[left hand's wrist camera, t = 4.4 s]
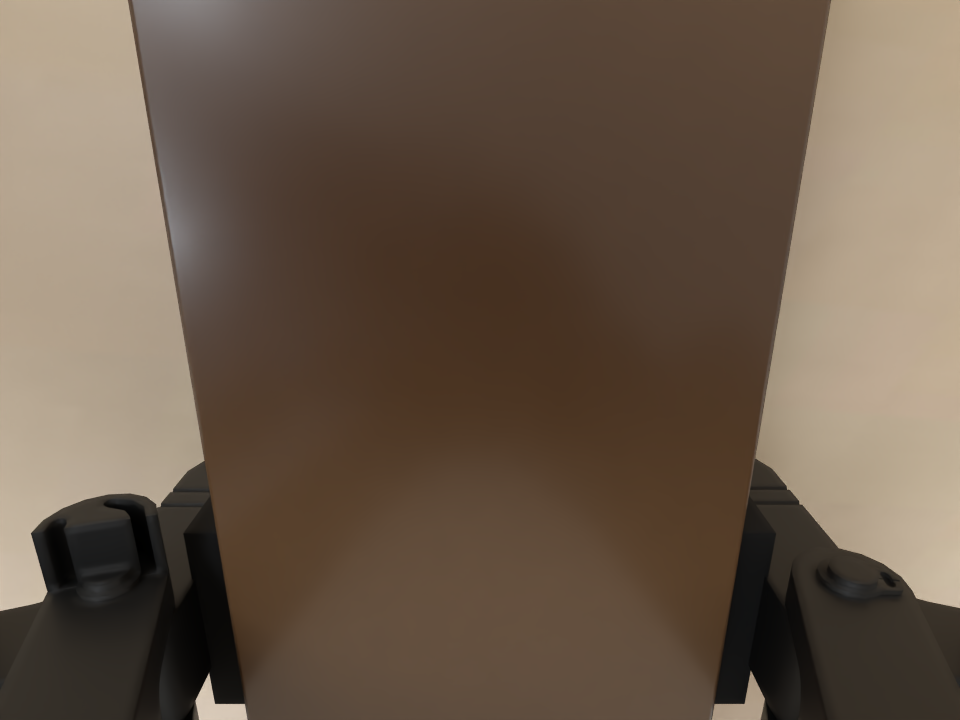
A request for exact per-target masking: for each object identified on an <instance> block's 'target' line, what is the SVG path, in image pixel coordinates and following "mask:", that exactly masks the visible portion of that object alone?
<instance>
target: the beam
mask: <svg viewBox="0 0 960 720" xmlns="http://www.w3.org/2000/svg"><path fill="white" fill-rule="evenodd" d="M128 3H129V9H130V15H131V21H132V27H133V33H134V39H135V45H136V51H137V57H138V63H139V69H140V75H141V81H142V87H143V93H144V99H145V105H146V111H147V117H148V123H149V129H150V135H151V141H152V147H153V153H154V159H155V165H156V171H157V177H158V183H159V189H160V195H161V201H162V207H163V213H164V219H165V225H166V231H167V237H168V243H169V249H170V255H171V261H172V267H173V273H174V279H175V285H176V291H177V297H178V303H179V309H180V315H181V321H182V328H183V334H184V340H185V346H186V352H187V358H188V364H189V370H190V376H191V382H192V388H193V394H194V400H195V406H196V412H197V418H198V424H199V430H200V436H201V442H202V448H203V454H204V460H205V466H206V472H207V478H208V484H209V490H210V496H211V502H212V508H213V514H214V520H215V526H216V532H217V538H218V544H219V550H220V556H221V562H222V568H223V574H224V580H225V586H226V592H227V598H228V604H229V610H230V616H231V622H232V628H233V634H234V640H235V646H236V652H237V658H238V664H239V670H240V676H241V682H242V689H243V695H244V701H245V707H246V713H247V719H248V720H712V715H713V709H714V703H715V697H716V691H717V685H718V679H719V673H720V667H721V661H722V655H723V649H724V643H725V636H726V630H727V624H728V618H729V612H730V606H731V600H732V594H733V588H734V582H735V576H736V570H737V564H738V558H739V552H740V546H741V540H742V534H743V528H744V522H745V516H746V510H747V504H748V498H749V492H750V486H751V480H752V474H753V468H754V461H755V455H756V449H757V443H758V437H759V431H760V425H761V419H762V413H763V407H764V401H765V395H766V389H767V383H768V377H769V371H770V365H771V359H772V353H773V347H774V341H775V335H776V329H777V323H778V317H779V311H780V305H781V299H782V293H783V287H784V280H785V274H786V268H787V262H788V256H789V250H790V244H791V238H792V232H793V226H794V220H795V214H796V208H797V202H798V196H799V190H800V184H801V178H802V172H803V166H804V160H805V154H806V148H807V142H808V136H809V130H810V124H811V118H812V112H813V106H814V99H815V93H816V87H817V81H818V75H819V69H820V63H821V57H822V51H823V45H824V39H825V33H826V27H827V21H828V15H829V9H830V3H831V0H128Z"/></svg>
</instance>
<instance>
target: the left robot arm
mask: <svg viewBox="0 0 960 720" xmlns="http://www.w3.org/2000/svg"><path fill="white" fill-rule="evenodd" d="M31 535H32V538H33V542H34V545H35V549H36V553H37V556H38V560H39V563H40V567H41V570H42V574H43V577H44V581H45V584H46V588H47V591H48V592H47V594H46V596H45V599H44V601H43V602H40V603H36V604H32V605H28V606H23V607H18V608H13V609H9V610H4V611H0V720H199V717H198V712H197V707H196V702H195V700H196V698H197V696H198V694H199V692H200V690H201V688H202V686H203V684H204V682H205V680H206V678H207V676H208V674H210V679H211V684H212V690H213V695H214V700H215V704H245V701H244V695H243V689H242V682H241V676H240V670H239V664H238V658H237V652H236V646H235V640H234V634H233V628H232V622H231V616H230V610H229V604H228V598H227V592H226V586H225V580H224V574H223V568H222V562H221V556H220V550H219V544H218V538H217V532H216V526H215V520H214V514H213V508H212V502H211V496H210V490H209V484H208V478H207V472H206V466H205V461H204V462H202V463H200V464H199V465H197V466H196V467H194V468H192V469H191V470H189V471H188V472H187V473H186V474H185V475H184V477H183V478H182V479H181V480H180V481H179V483H178V484H177V485H176V486H175V487H174V489H173V492H170V493H169V495H168V496H167V497H166V498H165V499H164V501H163V502H162V503H161V507H158V508H156V504H155V503H154V502H152V501H151V500H150V499H148V498H147V497H144V496H139V495H134V494H111V495H105V496H100V497H96V498H91V499H86V500H83V501H81V502H78V503H76V504H73V505H70V506H68V507H65V508H63V509H61V510H59V511H58V512H56V513H54V514H53V515H51V516H50V517H48V518H46V519H45V520H43V521H42V522H41V523H40V524H39V525H38V526H37V528H36V529H35V530H34V531H33V532H32V533H31ZM750 671H752V673H753V675H754V677H755V679H756V681H757V683H758V685H759V688H760V690H761V692H762V694H763V696H764V698H765V702H764V707H763V712H762V717H761V720H960V608H956V607H951V606H946V605H941V604H937V603H932V602H927V601H924V600H920V599H916V597H915V595H914V593H913V591H912V590H911V589H910V587H909V586H908V585H907V584H906V582H905V581H904V580H903V579H902V577H901V576H899V575H898V574H896V573H895V572H894V571H892V570H891V569H889V568H888V567H887V566H885V565H884V564H882V563H880V562H878V561H875V560H873V559H871V558H869V557H866V556H864V555H862V554H858V553H855V552H851V551H847V550H843V549H839V548H838V547H837V546H836V545H835V543H834V542H833V541H832V540H831V539H830V537H829V536H828V535H827V534H826V533H825V531H824V530H823V529H822V528H821V527H820V526H819V524H818V523H817V522H816V521H815V520H814V518H813V517H812V516H811V515H810V514H809V512H808V511H807V510H806V509H805V508H804V506H803V505H799V501H798V499H797V498H796V497H795V496H794V495H793V493H792V492H791V491H790V490H787V486H786V485H785V484H784V483H783V481H782V480H781V479H780V478H779V477H778V476H777V474H776V473H775V472H774V471H773V470H772V469H771V468H770V467H768V466H766V465H765V464H763V463H761V462H760V461H758V460H757V459H755V461H754V468H753V474H752V480H751V486H750V492H749V498H748V504H747V510H746V516H745V522H744V528H743V534H742V540H741V546H740V552H739V558H738V564H737V570H736V576H735V582H734V588H733V594H732V600H731V606H730V612H729V618H728V624H727V630H726V636H725V643H724V649H723V655H722V661H721V667H720V673H719V679H718V685H717V691H716V697H715V703H714V704H745V698H746V693H747V687H748V682H749V677H750Z"/></svg>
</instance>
